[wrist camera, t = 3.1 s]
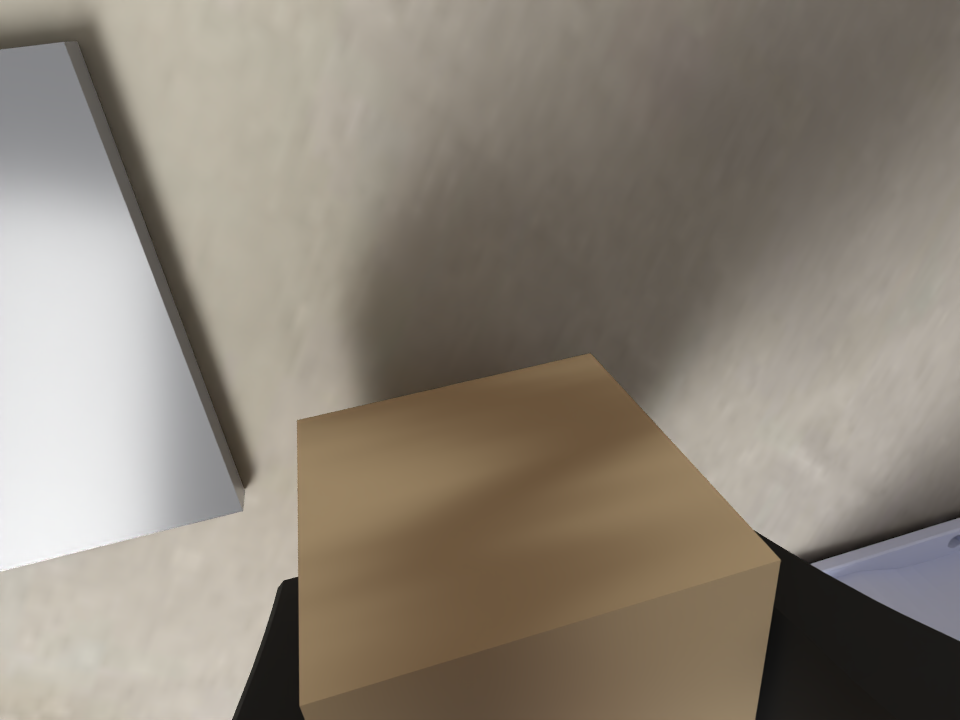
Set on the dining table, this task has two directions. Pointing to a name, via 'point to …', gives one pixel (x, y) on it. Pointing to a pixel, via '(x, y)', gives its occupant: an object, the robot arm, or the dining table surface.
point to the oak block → (521, 560)
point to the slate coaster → (89, 337)
